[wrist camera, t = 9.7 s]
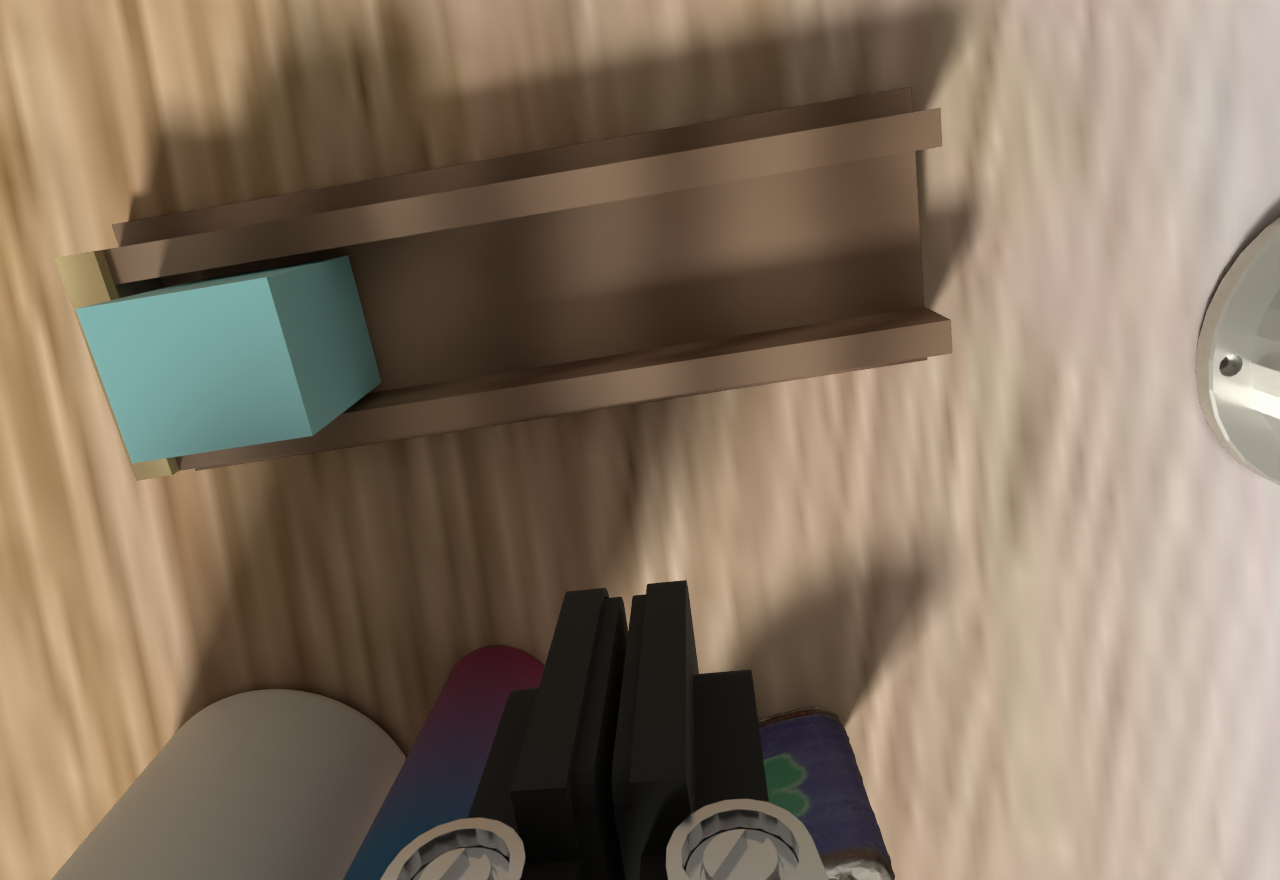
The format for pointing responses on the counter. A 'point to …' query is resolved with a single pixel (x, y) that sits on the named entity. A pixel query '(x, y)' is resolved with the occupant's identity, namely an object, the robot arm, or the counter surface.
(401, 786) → the cup
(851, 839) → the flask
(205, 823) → the cylinder vase
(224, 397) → the block
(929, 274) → the counter surface
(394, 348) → the chute
